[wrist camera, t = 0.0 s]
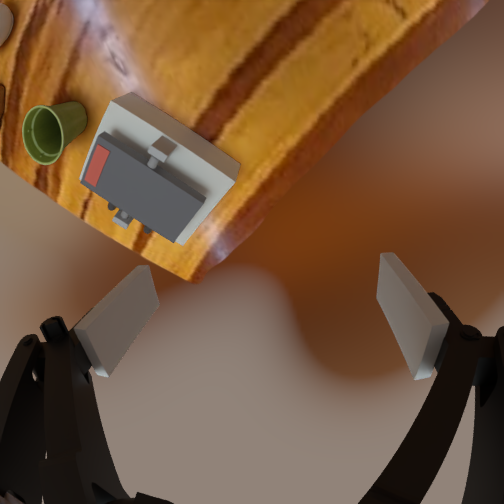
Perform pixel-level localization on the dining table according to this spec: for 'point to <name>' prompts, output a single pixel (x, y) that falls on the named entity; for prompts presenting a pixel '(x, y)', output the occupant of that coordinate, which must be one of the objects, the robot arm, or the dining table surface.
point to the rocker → (140, 187)
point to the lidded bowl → (5, 22)
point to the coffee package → (1, 100)
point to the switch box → (169, 153)
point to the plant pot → (52, 130)
